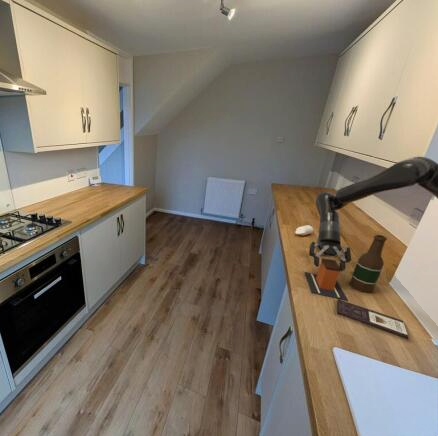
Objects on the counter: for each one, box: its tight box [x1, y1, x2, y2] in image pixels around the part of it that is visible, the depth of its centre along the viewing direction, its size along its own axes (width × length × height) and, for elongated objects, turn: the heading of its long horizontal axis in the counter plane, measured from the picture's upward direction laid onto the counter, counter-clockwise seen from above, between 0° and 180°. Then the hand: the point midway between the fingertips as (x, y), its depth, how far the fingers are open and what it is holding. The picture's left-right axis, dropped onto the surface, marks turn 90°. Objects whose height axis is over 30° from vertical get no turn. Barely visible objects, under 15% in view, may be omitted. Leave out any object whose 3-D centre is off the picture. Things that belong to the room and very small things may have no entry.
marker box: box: [316, 257, 341, 291], centre depth 99 cm, size 5×8×10 cm, turn 157°
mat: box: [304, 271, 349, 302], centre depth 101 cm, size 12×16×1 cm
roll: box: [294, 224, 314, 237], centre depth 150 cm, size 6×12×6 cm, turn 116°
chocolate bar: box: [336, 299, 409, 340], centre depth 84 cm, size 9×1×18 cm
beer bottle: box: [349, 234, 388, 294], centre depth 96 cm, size 8×8×24 cm
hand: (329, 268), depth 98 cm, fingers open, 8 cm apart
